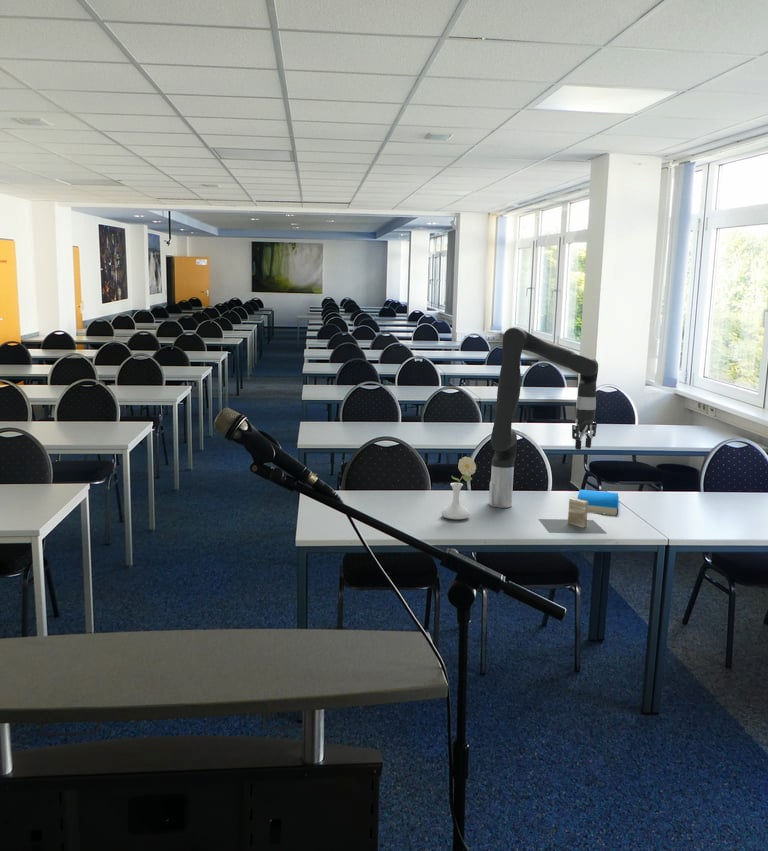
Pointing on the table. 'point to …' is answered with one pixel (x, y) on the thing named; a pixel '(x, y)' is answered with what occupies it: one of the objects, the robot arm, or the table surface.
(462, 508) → the flower in vase
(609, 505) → the book
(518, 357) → the robot arm
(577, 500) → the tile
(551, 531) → the mat
